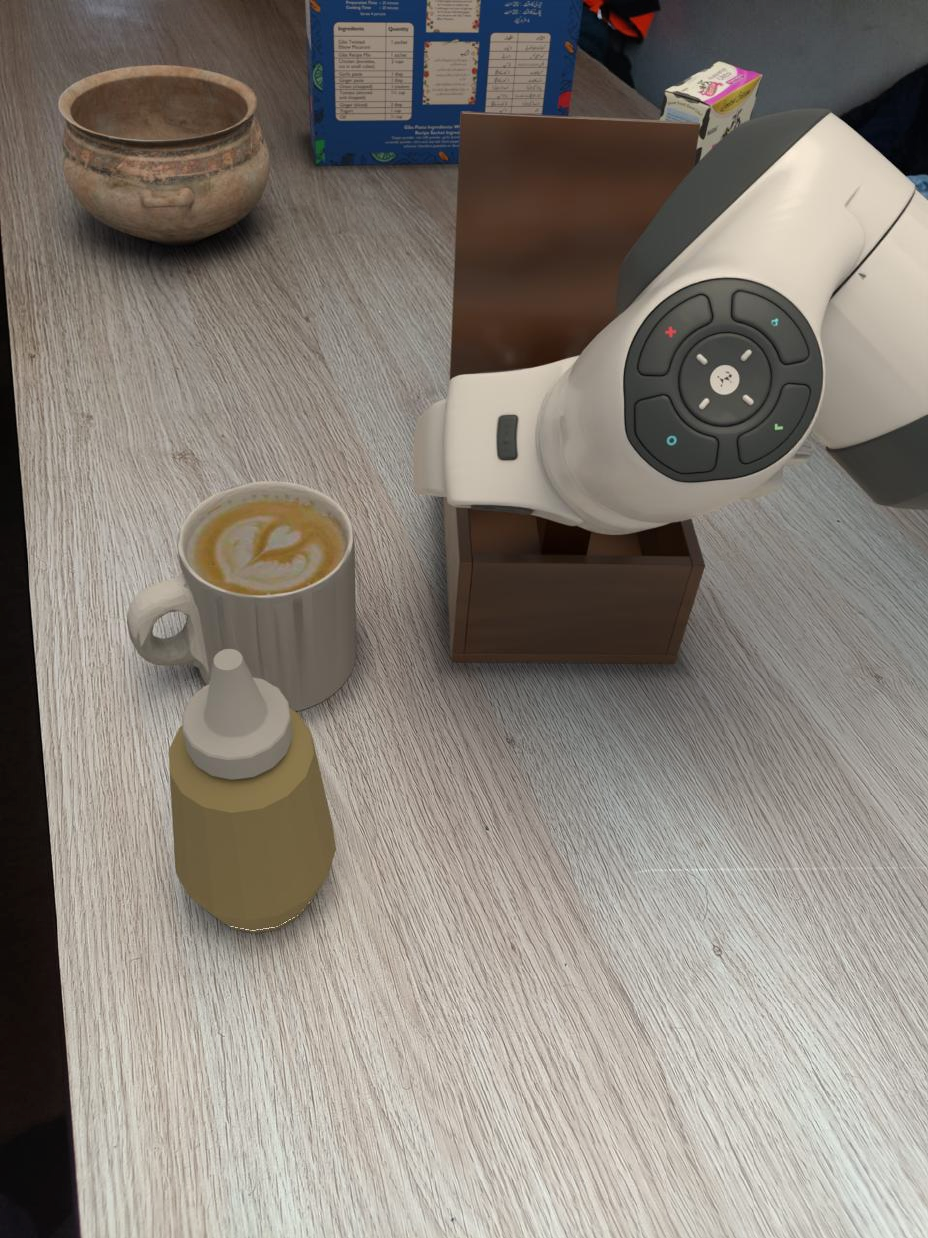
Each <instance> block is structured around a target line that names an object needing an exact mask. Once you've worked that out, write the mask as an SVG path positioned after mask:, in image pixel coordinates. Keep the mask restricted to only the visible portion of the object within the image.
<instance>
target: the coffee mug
mask: <svg viewBox="0 0 928 1238" xmlns="http://www.w3.org/2000/svg"><path fill="white" fill-rule="evenodd" d="M176 542H177V544H176V547H177V556H178V561H179V565H180V569H181V574H180V575H177V576H176V577H172V578H168V579H166V580H162V581H158V582H156V583H153V584H151V585H149V586H147V587H145V588H143V589H142V590H141V591H139V592H138V593H137V594H135V596H134V598H132V600H131V602H130V603H129V606H128V608H127V609H128V610H127V614H126V624H127V631H128V634H129V638H130V641H131V643H132V645H133V647H134V649H135V651H136V652H137V653H138V655H139V656H140V657H141V658H142V659H143V660H144V661H146V662H148V663H150V664H152V665H154V666H161V667H162V666H163V667H173V666H185V665H187V666H194V667H196V668H197V669H198V671H199V674H200V676H201V678H202V682H204V684H205V686H206V685H208V684H210V683H209V682H210V678H211V672H212V666H213V660H214V657H215V655H216V654H217V653H218V652H220V651H222V650H224V649H234V650H237V651H238V652H240V653H241V655H242V656H243V658H244V661H245V663H246V665H247V667H248V669H249V671H250V673H251V675H252V677H253V678H258V679H263V680H265V681H267V682H268V683H270V684H272V685H274V686H275V687H277V688H279V689H280V691H281V692H282V694H283V695H284V696H285V698H286V699H287V701H288V702H289V708H290V709H291V710H293V711H295V712H296V713H297V712H300V711H304V710H307V709H309V708H312V707H314V706H316V705H319V704H321V703H322V702H325V701H326V700H327V699H329V698H331V697H332V696H333V695H334V694H336V693H337V692H338V691H339V690H340V689H341V688H342V687H343V686H344V685H345V683H346V682H347V680H348V679H349V677H350V676H351V674H352V672H353V670H354V668H355V664H356V661H357V660H356V658H357V608H356V606H357V605H356V603H357V602H356V552H355V551H356V550H355V548H356V547H355V544H356V543H355V533H354V529H353V524H352V521H351V520H350V518H349V515H348V514H347V513H346V510H345V509H344V508H343V507H342V506H341V505H340V504H339V503H338V502H337V501H335V500H334V499H332V497H330V496H329V495H326V494H325V493H323V492H322V491H319V490H317V489H314V488H312V487H309V486H306V485H303V484H299V483H294V482H288V481H280V480H279V481H277V480H274V481H273V480H272V481H271V480H264V481H252V482H247V483H242V484H238V485H233V486H231V487H228V488H226V489H223V490H221V491H218V492H215V493H214V494H212V495H211V496H208V497H207V498H205V499H204V500H202V501H201V502H200V503H198V504H197V505H196V506H194V508H193V509H192V510H191V511H190V512H189V513H188V515H187V516H186V517H185V518H184V520H183V522H182V524H181V526H180V527H179V531H178V534H177V541H176ZM176 612H179V613H182V614H184V615H186V617H185V618H186V619H185V620H186V621H185V623H184V625H183V628H182V629H181V630H180V631H179V632H177V633H176V634H175V635H172V636H169V637H166V638H163V637H161V638H160V637H158V636H155V635H154V632H153V631H154V627H155V624H156V623H157V621H158V620H159V619H161V618H162V617H164V616H166V615H167V614H168V613H176ZM208 681H209V682H208Z"/></svg>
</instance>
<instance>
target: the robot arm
mask: <svg viewBox="0 0 928 1238" xmlns="http://www.w3.org/2000/svg"><path fill="white" fill-rule="evenodd" d="M616 314H617V318H616V319H614V320H613V321H612V322H611V323H610V324H609V325H608V326H607V327H605V328H604V329H603V330H602V331H601V332H600V333H599V334H598V335H597V336H596V337H595V338H594V339H593V340H592V341H591V342H590V343H589V345H588V346H587V347H586V348H585V349H584V350H583V352H582V353H581V354H580V355H579V356H575V357H571V358H567V359H564V360H560V361H557V362H554V363H550V364H546V365H542V366H538V367H533V368H521V369H513V370H504V371H491V372H480V373H476V374H464V375H459V376H456V377H454V378H452V379H451V380H450V381H449V380H448V385H447V391H446V398H443V399H440V400H438V401H436V402H434V403H431V404H430V405H429V406H428V407H427V408H426V409H425V411H424V412H422V414H421V416H420V417H419V419H418V420H417V422H416V424H415V427H414V431H413V432H414V433H413V446H412V447H413V451H412V483H413V484H412V485H413V489H414V491H415V492H416V493H417V494H419V495H423V496H430V497H442V498H443V497H447V502H448V503H449V504H450V505H452V506H454V507H459V508H471V509H473V510H487V511H500V512H509V513H516V514H523V515H529V514H530V515H535V516H539V517H542V518H546V519H549V520H552V521H555V522H558V523H562V524H565V525H569V526H579V527H581V528H584V529H586V530H589V531H592V532H596V533H601V534H609V535H623V534H630V533H635V532H639V531H643V530H647V529H652V528H656V527H659V526H663V525H666V524H669V523H672V522H679V521H684V520H689V519H692V520H693V519H696V518H699V517H702V516H706V515H708V514H712V513H714V512H716V511H719V510H721V509H724V508H725V507H727V506H729V505H731V504H733V503H735V502H737V501H739V500H752V499H759V498H762V497H765V496H767V495H770V494H772V493H774V492H776V491H777V490H779V489H781V487H782V485H783V482H784V467H792V466H797V465H801V464H805V463H807V462H810V461H811V457H812V456H813V453H814V452H813V450H812V446H811V444H808V443H805V441H806V439H808V437H809V436H810V433H811V434H813V436H815V437H816V438H817V439H818V440H819V441H820V442H822V443H823V445H825V448H824V449H825V450H826V452H827V453H828V454H829V455H830V456H831V458H833V459H834V461H836V463H837V464H839V466H840V467H841V468H842V469H843V470H844V471H845V472H846V474H848V476H849V477H850V478H851V479H852V480H853V481H854V482H855V483H856V484H857V485H858V486H859V487H860V488H861V489H862V491H863V492H864V493H865V494H866V495H867V496H868V497H869V498H870V499H871V500H872V501H873V503H875V505H879V506H883V507H889V508H895V509H902V510H914V511H928V199H927V198H926V197H925V196H924V195H923V194H921V193H920V191H918V190H917V189H916V184H915V183H913V181H911V179H909V178H908V176H906V175H905V174H904V173H903V172H902V171H901V170H900V169H899V168H898V167H896V166H895V165H894V164H893V163H892V162H891V161H890V160H889V159H887V158H886V157H885V156H884V155H883V153H882V152H880V151H879V150H878V149H876V148H875V147H874V146H873V145H872V144H871V143H870V142H868V140H866V139H865V138H864V137H863V136H862V135H861V134H859V133H858V132H857V131H856V130H854V128H852V127H851V126H850V125H848V123H846V122H845V121H844V120H842V119H841V118H840V117H838V116H837V115H835V114H834V113H833V112H832V110H831V109H828V108H797V109H790V110H785V111H780V112H776V113H772V114H768V115H767V114H766V115H764V116H760V117H756V118H753V119H752V118H751V119H750V120H749V121H746V122H744V123H742V124H740V125H739V126H737V127H736V128H735V129H733V130H732V131H731V132H729V133H728V134H727V135H726V136H725V137H724V138H723V139H721V140H720V141H719V142H718V143H717V144H716V145H715V146H714V147H713V148H712V149H711V150H710V151H709V152H708V153H707V154H706V155H705V156H704V157H703V158H702V159H701V160H700V161H699V162H698V163H697V164H696V166H695V167H694V168H693V169H692V170H691V171H690V172H689V173H688V175H687V176H686V177H685V178H684V179H683V180H682V182H681V183H680V184H679V185H678V186H677V188H676V189H675V190H674V192H673V193H672V194H671V195H670V197H669V198H668V199H667V200H666V202H665V203H664V205H663V206H662V207H661V209H660V210H659V211H658V213H657V214H656V215H655V217H654V218H653V220H652V221H651V223H650V224H649V226H648V227H647V229H646V230H645V231H644V233H643V234H642V235H641V237H640V238H639V239H638V240H637V242H636V243H635V245H634V246H633V247H632V249H631V250H630V251H629V253H628V254H627V256H626V257H625V259H624V260H623V262H622V264H621V266H620V271H619V277H618V284H617V292H616Z"/></svg>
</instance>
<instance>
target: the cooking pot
mask: <svg viewBox="0 0 928 1238" xmlns="http://www.w3.org/2000/svg"><path fill="white" fill-rule="evenodd" d="M57 105H58V111H59V112H60V114H61V116H62V117H63V118H64V119H65V122H64V126H63V132H62V138H61V152H60V155H61V156H60V157H61V165H62V172H63V177H64V179H65V181H66V183H67V185H68V187H69V189H70V190H71V192H72V194H73V195H74V197H75V199H76V200H77V202H78V203H79V204H80V205H81V206H82V207H83V208H84V209H85V210H86V211H87V212H88V213H89V214H90V215H91V216H92V217H94V218H95V219H96V220H98V221H100V222H102V223H103V224H105V225H106V226H108V227H110V228H112V229H114V230H116V231H119V232H121V233H124V234H127V235H130V236H132V237H134V238H135V237H136V238H138V239H143V240H147V241H149V242H152V243H155V244H157V245H158V244H159V245H162V246H170V247H173V246H175V247H177V246H178V247H179V246H188V245H192V244H196V243H200V242H202V241H203V240H205V239H207V238H209V237H211V236H213V235H216V234H218V233H220V232H222V231H224V230H226V229H228V228H230V227H232V226H234V225H235V224H237V223H238V222H240V221H242V219H244V218H245V217H246V216H248V215H249V214H250V213H251V212H252V210H253V209H254V208H255V207H256V206H257V204H258V203H259V202H260V200H261V198H262V196H263V193H264V191H265V188H266V186H267V184H268V180H269V177H270V152H269V148H268V145H267V142H266V139H265V136H264V133H263V131H262V129H261V126H260V123H259V122H258V119H257V118H256V115H255V112H256V111H257V108H258V97H257V96H256V93H255V92H254V91H253V89H251V87H250V86H249V85H248V84H246V83H244V82H243V81H242V80H239V79H237V78H235V77H233V76H231V75H228V74H225V73H221V72H219V71H214V70H210V69H205V68H201V67H200V68H199V67H192V66H187V65H186V66H184V65H172V64H171V65H169V64H168V65H167V64H151V65H137V66H126V67H120V68H115V69H109V70H105V71H102V72H97V73H95V74H92V75H89V76H87V77H84V78H82V79H79V80H78V81H76V82H74V83H72V84H71V85H70V86H68V87H67V88H66V89H65V90H64V91H63V92H62V93H61V94H60V96H59V98H58V101H57Z"/></svg>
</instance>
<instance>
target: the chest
mask: <svg viewBox="0 0 928 1238" xmlns="http://www.w3.org/2000/svg"><path fill="white" fill-rule="evenodd" d="M442 508H443V509H442V511H443V529H444V530H443V532H444V548H445V549H444V550H445V567H446V587H447V605H448V625H449V627H448V628H449V645H450V647H449V648H450V661H451V663H515V664H516V663H520V664H521V663H522V664H524V663H525V664H527V663H528V664H529V663H531V664H532V663H534V664H538V663H539V664H541V663H542V664H544V663H545V664H561V663H562V664H566V663H567V664H676V661H677V659H678V655H679V652H680V648H681V645H682V642H683V639H684V634H685V632H686V630H687V629H686V628H687V626H688V623H689V619H690V617H691V613H692V610H693V606H694V603H695V600H696V597H697V593H698V590H699V587H700V584H701V581H702V578H703V574H704V572H705V568H706V564H705V560H704V556H703V553H702V550H701V546H700V543H699V539H698V536H697V532H696V529H695V526H694V523H693V518H692V519H689V520H684V521H679V522H672V523H669V524H666V525H663V526H659V527H656V528H652V529H647V530H643V531H639V532H635V533H630V534H623V535H609V534H601V533H596V532H592V531H591V536H590V541H589V546H588V551H587V555H542V554H541V551H540V544H539V537H538V530H537V523H536V516H535V515H530V514H529V515H523V514H516V513H509V512H500V511H487V510H473V509H471V508H459V507H454V506H452V505H450V504H449V503H448V502H447V497H442Z"/></svg>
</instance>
